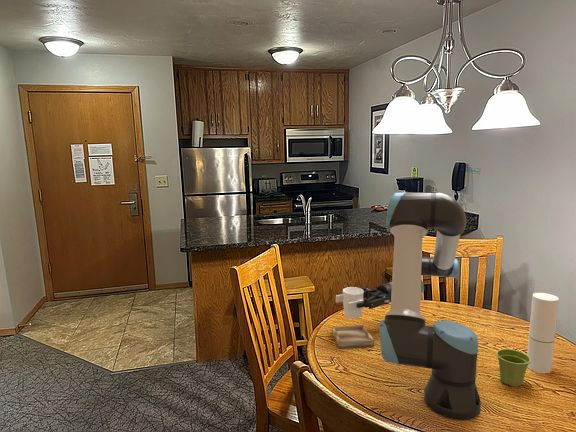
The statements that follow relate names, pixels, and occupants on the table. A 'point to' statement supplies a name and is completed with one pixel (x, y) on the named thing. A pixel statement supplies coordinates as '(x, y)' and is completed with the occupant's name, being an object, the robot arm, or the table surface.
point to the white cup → (350, 296)
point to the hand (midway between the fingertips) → (342, 302)
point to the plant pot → (512, 366)
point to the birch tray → (352, 336)
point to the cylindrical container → (542, 332)
